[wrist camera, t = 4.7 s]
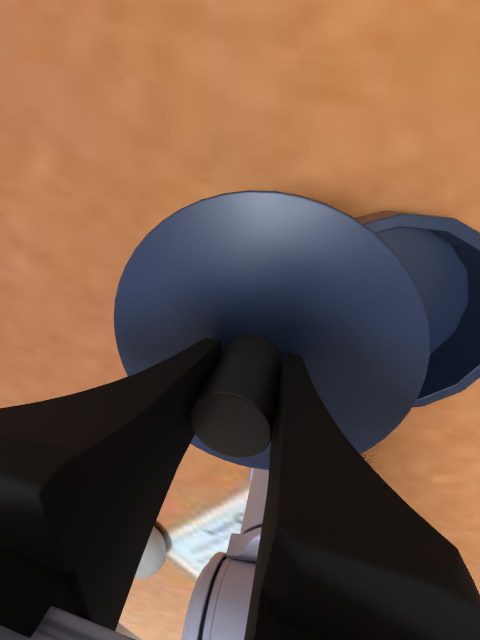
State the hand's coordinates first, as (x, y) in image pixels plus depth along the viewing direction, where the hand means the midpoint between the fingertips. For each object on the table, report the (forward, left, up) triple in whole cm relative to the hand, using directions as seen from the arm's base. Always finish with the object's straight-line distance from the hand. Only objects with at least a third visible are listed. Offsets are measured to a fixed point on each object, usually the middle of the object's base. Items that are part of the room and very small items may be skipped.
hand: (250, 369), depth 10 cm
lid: (0, 0, -1) cm, 1 cm away
